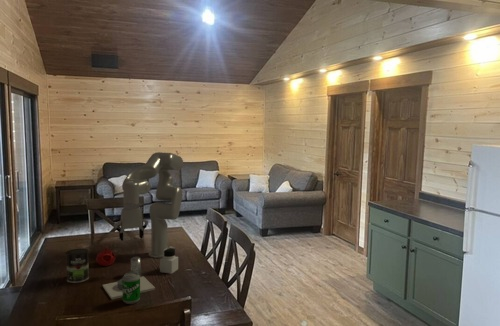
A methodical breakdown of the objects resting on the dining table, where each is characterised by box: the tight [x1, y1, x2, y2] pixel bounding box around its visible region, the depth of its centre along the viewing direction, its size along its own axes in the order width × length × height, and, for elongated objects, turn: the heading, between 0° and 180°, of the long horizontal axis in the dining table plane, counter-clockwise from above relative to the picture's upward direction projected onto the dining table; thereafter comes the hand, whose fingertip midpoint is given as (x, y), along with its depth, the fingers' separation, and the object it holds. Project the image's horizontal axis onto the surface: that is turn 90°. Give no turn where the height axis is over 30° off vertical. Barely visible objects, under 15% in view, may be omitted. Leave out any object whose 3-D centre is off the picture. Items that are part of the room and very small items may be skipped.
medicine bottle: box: [159, 248, 179, 275], centre depth 209 cm, size 7×7×12 cm
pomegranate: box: [95, 247, 116, 267], centre depth 216 cm, size 10×10×9 cm
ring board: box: [102, 275, 156, 300], centre depth 186 cm, size 20×16×4 cm
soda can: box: [121, 271, 141, 305], centre depth 172 cm, size 8×8×12 cm
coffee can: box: [65, 248, 90, 284], centre depth 195 cm, size 10×10×14 cm
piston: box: [130, 256, 142, 277], centre depth 202 cm, size 5×5×9 cm
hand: (131, 238), depth 200 cm, fingers open, 9 cm apart
